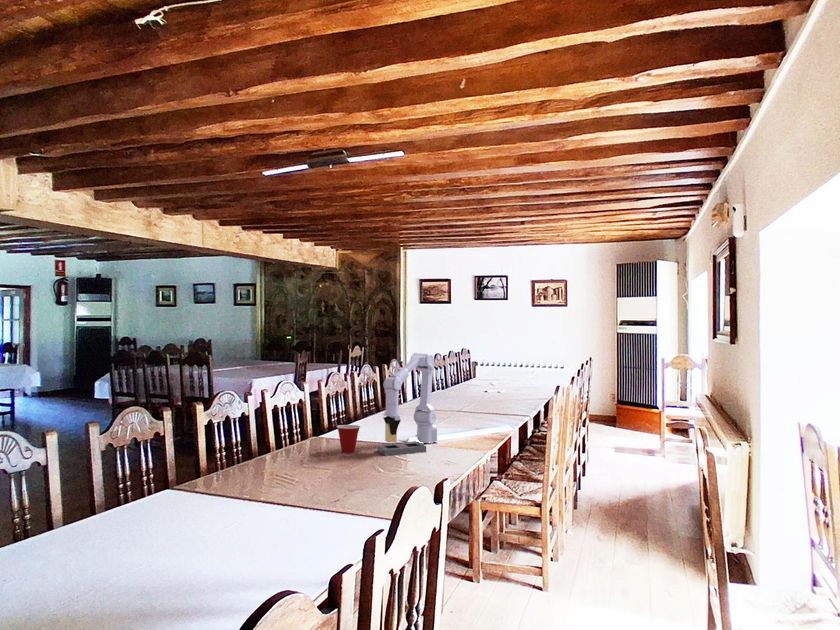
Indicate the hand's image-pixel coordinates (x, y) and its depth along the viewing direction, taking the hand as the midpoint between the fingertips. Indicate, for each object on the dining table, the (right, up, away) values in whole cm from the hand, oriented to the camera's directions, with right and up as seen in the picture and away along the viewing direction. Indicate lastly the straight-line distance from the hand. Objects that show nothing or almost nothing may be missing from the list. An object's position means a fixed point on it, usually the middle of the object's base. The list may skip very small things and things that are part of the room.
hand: (391, 433), depth 246 cm
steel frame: (+5, -9, +2) cm, 10 cm away
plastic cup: (-20, -9, 0) cm, 22 cm away
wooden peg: (0, -3, 0) cm, 3 cm away
